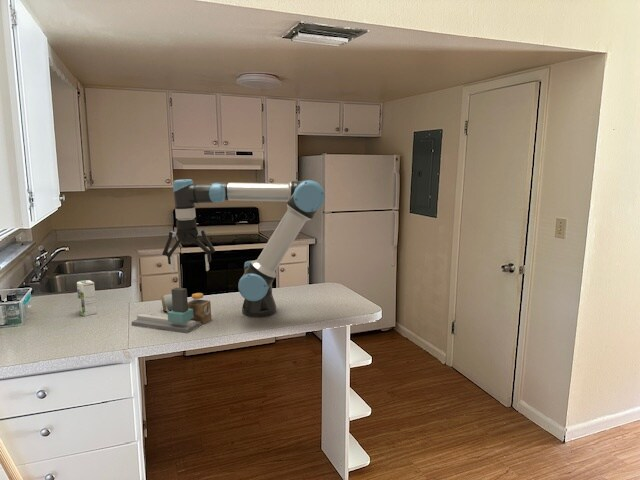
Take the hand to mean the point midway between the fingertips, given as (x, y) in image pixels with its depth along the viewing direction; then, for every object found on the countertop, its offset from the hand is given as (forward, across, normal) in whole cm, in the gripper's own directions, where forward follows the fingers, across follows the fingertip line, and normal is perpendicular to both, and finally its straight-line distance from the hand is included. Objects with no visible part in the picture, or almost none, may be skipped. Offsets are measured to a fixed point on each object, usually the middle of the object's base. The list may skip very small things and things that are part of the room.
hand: (190, 271), depth 179 cm
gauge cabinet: (+22, -1, -3) cm, 22 cm away
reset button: (+13, -1, -3) cm, 13 cm away
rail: (+22, +11, +1) cm, 25 cm away
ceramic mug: (+22, +13, -17) cm, 31 cm away
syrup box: (+21, +50, -17) cm, 57 cm away
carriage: (+19, +5, +4) cm, 20 cm away
